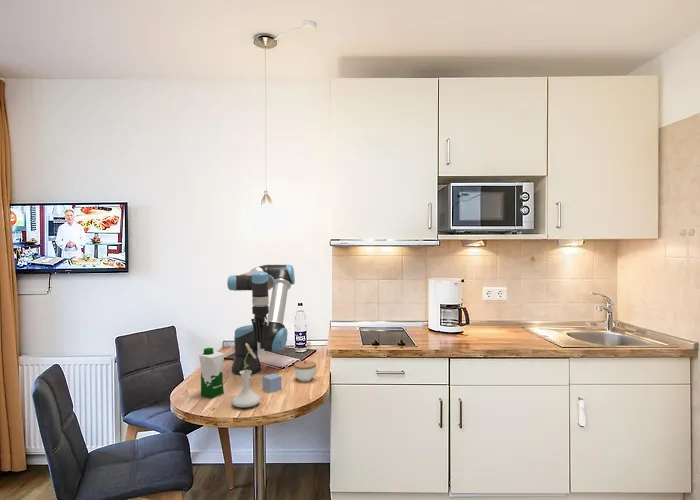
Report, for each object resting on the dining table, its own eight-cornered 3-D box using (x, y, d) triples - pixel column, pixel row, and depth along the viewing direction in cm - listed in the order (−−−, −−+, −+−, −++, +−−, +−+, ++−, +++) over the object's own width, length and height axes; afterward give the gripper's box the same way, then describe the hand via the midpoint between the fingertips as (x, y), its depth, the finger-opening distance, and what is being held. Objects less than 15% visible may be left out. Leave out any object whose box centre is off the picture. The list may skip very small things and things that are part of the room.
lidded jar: (312, 384, 195) (312, 364, 195) (291, 382, 197) (290, 363, 197) (318, 376, 205) (318, 358, 205) (298, 375, 207) (298, 356, 207)
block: (262, 389, 188) (262, 376, 188) (274, 386, 192) (273, 373, 192) (270, 393, 184) (270, 379, 183) (281, 389, 188) (281, 376, 188)
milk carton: (213, 389, 189) (212, 346, 188) (227, 393, 184) (226, 348, 183) (197, 395, 181) (196, 350, 181) (211, 399, 176) (210, 353, 176)
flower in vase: (258, 409, 165) (257, 347, 165) (229, 410, 164) (228, 348, 164) (262, 397, 178) (261, 340, 178) (235, 398, 177) (234, 340, 177)
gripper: (246, 304, 195) (246, 354, 196) (261, 307, 186) (261, 359, 186) (259, 303, 201) (260, 351, 201) (275, 305, 191) (275, 356, 192)
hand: (260, 355), depth 194 cm, fingers closed
